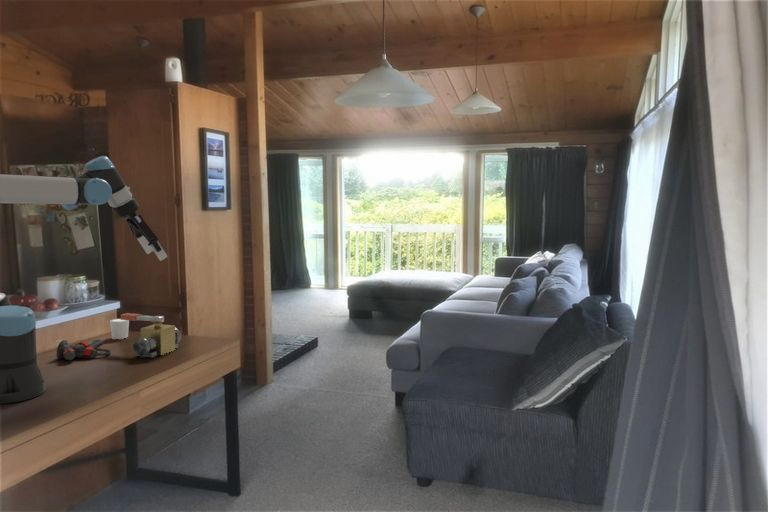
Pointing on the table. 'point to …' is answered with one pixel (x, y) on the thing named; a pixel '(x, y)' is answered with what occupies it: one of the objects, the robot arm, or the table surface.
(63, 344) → the valve
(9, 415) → the table surface
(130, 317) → the lever
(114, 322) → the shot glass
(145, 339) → the pipe valve
